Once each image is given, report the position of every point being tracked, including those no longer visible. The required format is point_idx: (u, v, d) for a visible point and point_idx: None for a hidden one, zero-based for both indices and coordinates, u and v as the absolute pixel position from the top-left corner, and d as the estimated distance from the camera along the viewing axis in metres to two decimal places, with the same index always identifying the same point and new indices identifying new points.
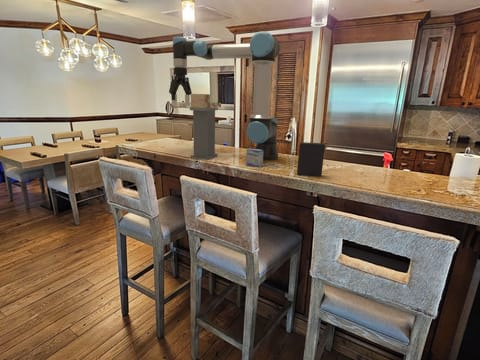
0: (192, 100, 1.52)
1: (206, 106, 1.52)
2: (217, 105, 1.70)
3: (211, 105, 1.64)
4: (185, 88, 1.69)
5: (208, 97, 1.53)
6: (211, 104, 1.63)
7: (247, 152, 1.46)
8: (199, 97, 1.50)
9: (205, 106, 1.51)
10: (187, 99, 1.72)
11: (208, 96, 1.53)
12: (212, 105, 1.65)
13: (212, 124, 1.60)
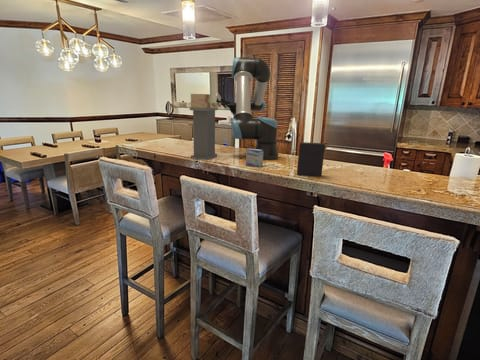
0: (192, 100, 1.52)
1: (206, 106, 1.52)
2: (217, 105, 1.70)
3: (211, 105, 1.64)
4: None
5: (208, 97, 1.53)
6: (211, 104, 1.63)
7: (247, 152, 1.46)
8: (199, 97, 1.50)
9: (205, 106, 1.51)
10: None
11: (208, 96, 1.53)
12: (212, 105, 1.65)
13: (212, 124, 1.60)
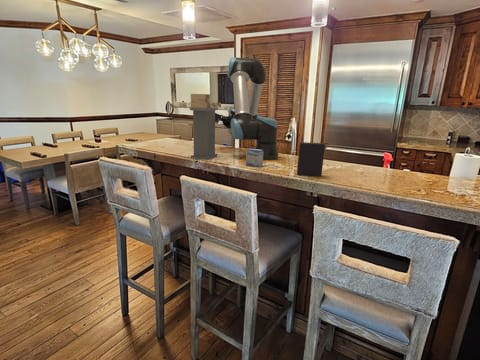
0: (192, 100, 1.52)
1: (206, 106, 1.52)
2: (217, 105, 1.70)
3: (211, 105, 1.64)
4: (230, 116, 1.84)
5: (208, 97, 1.53)
6: (211, 104, 1.63)
7: (247, 152, 1.46)
8: (199, 97, 1.50)
9: (205, 106, 1.51)
10: None
11: (208, 96, 1.53)
12: (212, 105, 1.65)
13: (212, 124, 1.60)
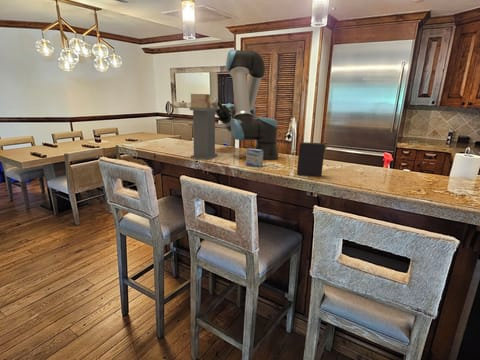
0: (192, 100, 1.52)
1: (206, 106, 1.52)
2: None
3: (211, 105, 1.64)
4: None
5: (208, 97, 1.53)
6: (211, 104, 1.63)
7: (247, 152, 1.46)
8: (199, 97, 1.50)
9: (205, 106, 1.51)
10: None
11: (208, 96, 1.53)
12: (212, 105, 1.65)
13: (212, 124, 1.60)
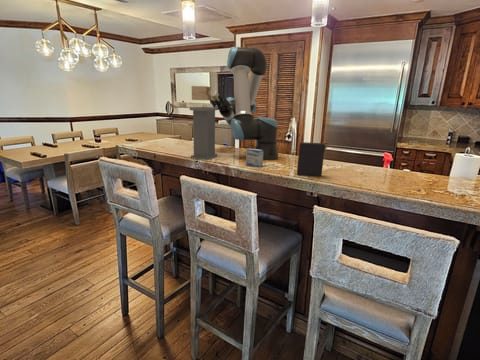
0: (193, 92, 1.51)
1: (207, 98, 1.52)
2: None
3: (212, 98, 1.63)
4: None
5: (209, 89, 1.53)
6: (212, 97, 1.63)
7: (247, 152, 1.46)
8: (200, 89, 1.50)
9: (206, 98, 1.51)
10: None
11: (209, 88, 1.53)
12: (213, 98, 1.64)
13: (212, 124, 1.60)
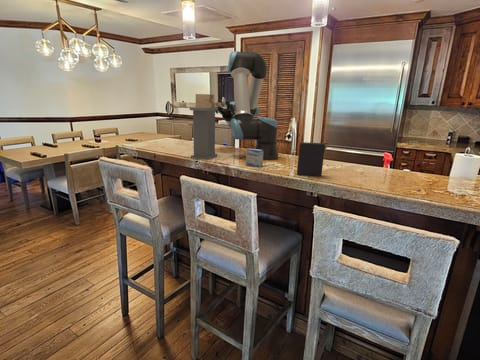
0: (197, 100, 1.56)
1: (210, 106, 1.57)
2: (220, 105, 1.75)
3: (215, 105, 1.68)
4: None
5: (212, 97, 1.58)
6: (215, 104, 1.68)
7: (247, 152, 1.46)
8: (204, 97, 1.54)
9: (209, 106, 1.56)
10: None
11: (212, 96, 1.58)
12: (216, 105, 1.69)
13: (212, 124, 1.60)
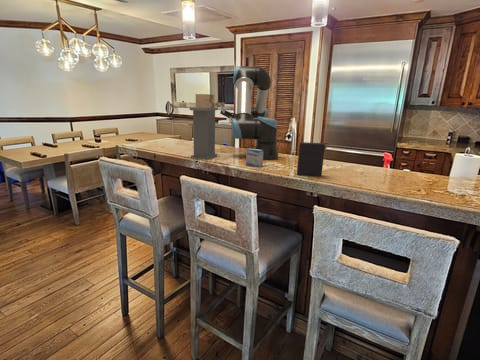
0: (197, 100, 1.56)
1: (210, 106, 1.57)
2: (220, 105, 1.75)
3: (215, 105, 1.68)
4: None
5: (212, 97, 1.58)
6: (215, 104, 1.68)
7: (247, 152, 1.46)
8: (204, 97, 1.54)
9: (209, 106, 1.56)
10: None
11: (212, 96, 1.58)
12: (216, 105, 1.69)
13: (212, 124, 1.60)
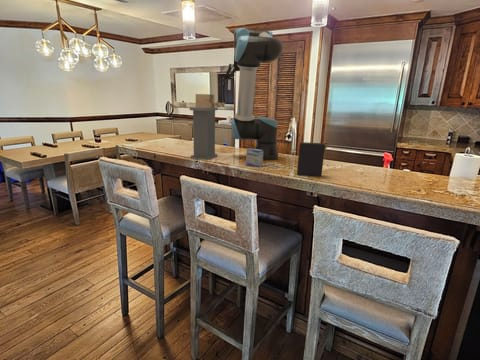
0: (197, 100, 1.56)
1: (210, 106, 1.57)
2: (220, 105, 1.75)
3: (215, 105, 1.68)
4: None
5: (212, 97, 1.58)
6: (215, 104, 1.68)
7: (247, 152, 1.46)
8: (204, 97, 1.54)
9: (209, 106, 1.56)
10: None
11: (212, 96, 1.58)
12: (216, 105, 1.69)
13: (212, 124, 1.60)
